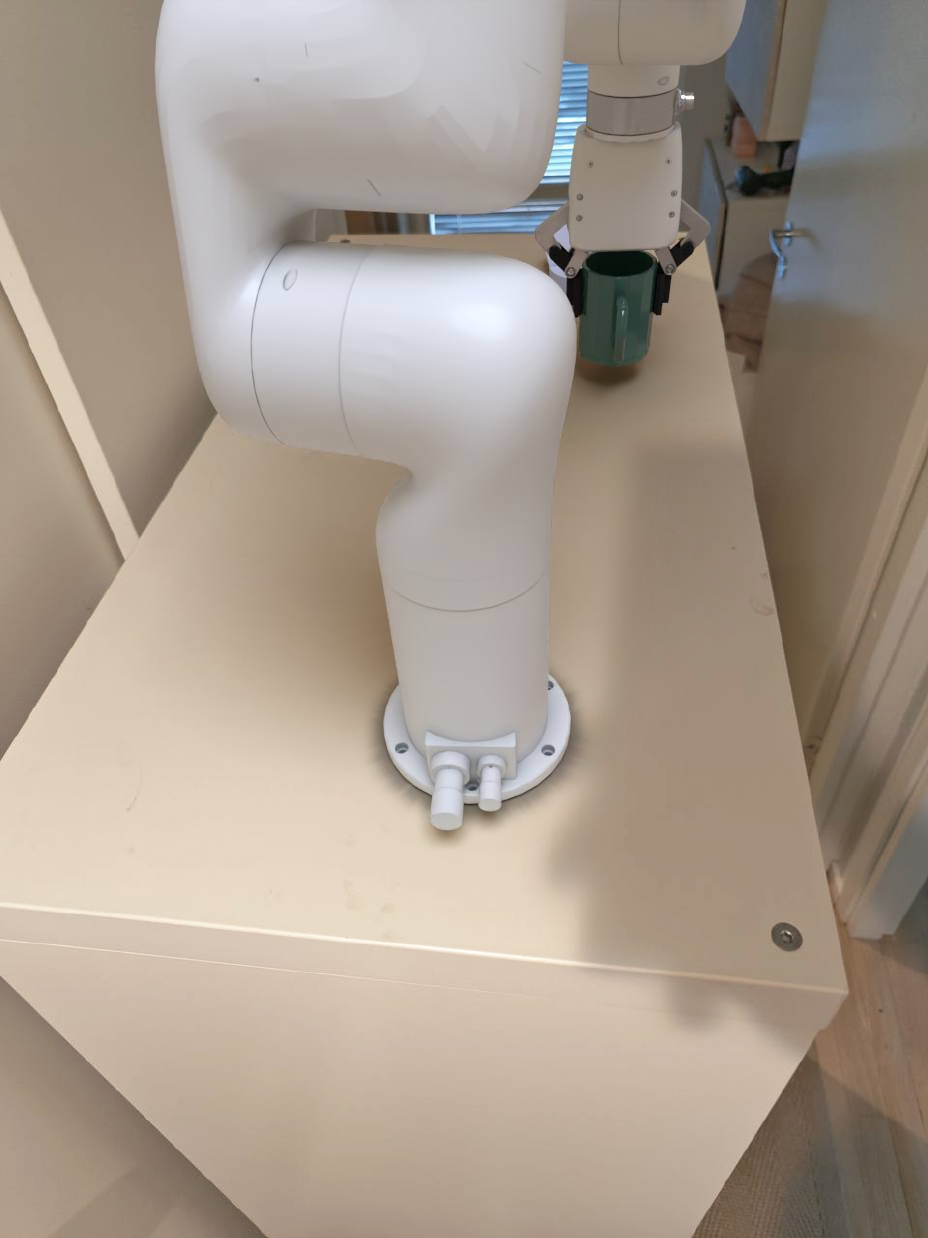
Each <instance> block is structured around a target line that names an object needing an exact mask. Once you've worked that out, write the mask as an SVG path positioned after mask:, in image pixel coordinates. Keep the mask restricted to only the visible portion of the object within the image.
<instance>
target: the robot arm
mask: <svg viewBox="0 0 928 1238" xmlns="http://www.w3.org/2000/svg"><path fill="white" fill-rule="evenodd" d="M746 4H747V0H163V2H162V5H161V8H160V13H159V20H158V27H157V32H156V38H155V50H154V51H155V52H154V53H155V54H154V84H155V100H156V107H157V117H158V125H159V132H160V133H159V134H160V140H161V147H162V153H163V160H164V166H165V174H166V180H167V185H168V193H169V199H170V205H171V211H172V219H173V225H174V229H175V237H176V243H177V248H178V249H177V250H178V256H179V262H180V263H179V264H180V269H181V275H182V282H183V288H184V296H185V301H186V308H187V313H188V314H187V315H188V319H189V320H188V321H189V326H190V332H191V337H192V342H193V343H192V344H193V348H194V349H193V350H194V353H195V359H196V363H197V367H198V370H199V371H198V372H199V375H200V378H201V382H202V384H203V388H204V389H205V392H206V394H207V397H208V399H209V401H210V403H211V404H212V406H213V408H214V410H215V411H216V413H217V414H218V415H219V417H220V418H221V419H222V420H223V421H224V422H225V423H226V424H227V425H228V426H229V427H230V428H231V429H233V430H235V431H236V432H238V433H239V434H241V435H243V436H245V437H247V438H249V439H253V440H256V441H258V442H262V443H268V444H272V445H276V446H283V447H290V448H295V449H301V450H302V449H303V450H310V451H315V452H325V453H330V454H331V453H332V454H338V455H345V456H351V457H352V456H353V457H358V458H366V459H367V460H370V461H371V460H372V461H379V462H385V463H390V464H394V465H397V466H400V467H403V468H405V469H406V470H405V471H404V473H403V474H401V476H400V477H399V479H398V480H397V481H396V482H395V484H394V485H393V486H392V487H391V489H390V491H389V492H388V494H387V496H386V497H385V499H384V500H383V503H382V505H381V508H380V509H379V512H378V517H377V520H376V525H375V547H376V554H377V555H376V556H377V560H378V566H379V570H380V577H381V583H382V589H383V594H384V601H385V606H386V607H385V608H386V613H387V619H388V625H389V630H390V637H391V642H392V648H393V655H394V661H395V667H396V672H397V678H398V684H397V686H396V687H395V688H394V690H393V692H392V693H391V694H390V697H389V699H388V701H387V703H386V706H385V710H384V716H383V721H382V722H383V723H382V725H383V726H382V727H383V737H384V741H385V745H386V750H387V753H388V756H389V757H390V760H391V761H392V763H393V765H394V766H395V768H396V769H397V770H398V771H399V773H400V774H401V775H402V777H404V778H405V779H406V780H407V781H408V782H409V783H411V784H412V785H413V786H414V787H416V788H417V789H419V790H421V791H422V792H425V793H426V794H429V795H430V796H431V803H430V813H429V823H430V825H431V826H432V827H433V828H435V829H438V830H441V831H453V830H458V829H460V828H461V827H462V825H463V821H464V820H463V818H464V805H465V804H467V805H469V804H471V805H472V804H473V805H474V804H477V805H478V807H479V809H480V810H482V811H484V812H497V811H498V810H500V809H501V807H502V801H506V800H509V799H512V798H513V797H517V796H519V795H522V794H524V793H526V792H528V791H529V790H531V789H533V788H535V787H536V786H538V785H539V784H541V783H542V782H543V781H544V780H546V778H547V777H548V776H550V775H551V774H552V773H553V772H554V770H555V769H556V767H557V766H558V765H559V764H560V762H561V761H562V759H563V757H564V755H565V753H566V750H567V748H568V745H569V740H570V736H571V721H572V716H571V711H570V704H569V702H568V699H567V696H566V694H565V692H564V690H563V688H562V687H561V685H560V684H559V682H558V681H557V680H556V678H554V676H553V675H551V674H550V672H549V670H550V667H549V666H550V665H549V664H550V627H551V626H550V622H551V621H550V620H551V584H552V583H551V581H552V580H551V579H552V578H551V576H552V536H553V535H552V531H553V528H552V527H553V509H554V508H553V506H554V493H555V492H554V491H555V481H556V472H557V465H558V459H559V451H560V445H561V441H562V434H563V430H564V425H565V421H566V415H567V411H568V405H569V401H570V396H571V391H572V386H573V381H574V377H575V376H574V375H575V368H576V360H577V348H578V347H577V345H578V337H577V336H578V330H577V323H576V322H577V321H576V318H578V319H579V316H581V294H582V275H581V266H582V264H583V263H584V261H585V259H586V258H587V256H588V254H589V253H590V252H607V251H638V250H644V251H654V254H655V257H656V258H657V262H658V270H657V279H656V289H655V298H654V308H653V315H655V316H662V312H663V304H668V303H669V301H670V294H671V285H672V278H673V277H672V276H673V275H674V274H676V272H677V268H679V267H680V266H681V265H683V263H684V262H686V260H687V259H688V258H690V257H691V256H692V255H693V253H694V252H695V250H696V249H697V247H699V246H700V245H701V243H703V241H705V239H706V238H707V237H708V236H709V235H710V233H711V232H712V227H711V224H710V222H709V221H708V220H707V219H706V218H705V217H704V216H703V215H702V214H701V213H699V212H698V211H697V210H696V209H695V208H693V207H692V206H691V205H690V204H689V203H688V202H686V201H685V200H684V198H682V191H683V190H682V187H683V137H682V126H681V123H680V122H679V121H677V117H680V114H683V113H684V112H690V111H691V112H692V111H693V110H694V105H695V92H694V91H690V92H686V91H685V90H682V89H681V87H679V81H680V71H681V66H702V65H703V66H704V65H706V64H710V63H712V62H714V61H717V60H718V59H720V58H721V57H722V56H723V55H725V53H727V51H728V50H729V49H730V48H731V47H732V45H733V43H734V41H735V39H736V37H737V35H738V34H739V30H740V27H741V25H742V22H743V17H744V14H745V9H746ZM564 62H567V63H570V64H574V65H582V66H583V65H584V66H587V82H586V83H587V84H586V85H587V86H586V87H587V88H586V110H585V123H582V124H580V125H578V126H577V128H576V131H575V137H574V141H573V147H572V153H571V160H570V169H569V180H568V192H567V201H566V202H564V203H563V204H562V205H561V206H560V207H559V208H557V209H556V210H555V211H554V212H553V213H551V215H549V216H548V217H547V218H546V219H545V220H543V221H542V222H541V223H540V224H539V225H537V226H536V227H535V229H534V239H535V240H536V242H537V243H538V244H539V245H540V246H541V248H542V249H543V250H544V252H545V253H546V252H547V254H548V255H549V257H550V259H551V260H552V261H553V262H554V263H555V264H556V265H557V266H558V267H559V268H560V269H561V270H562V271H563V272H564V273H565V276H566V277H567V281H566V295H565V293H564V292H563V290H562V289H561V288H560V286H559V285H558V284H557V283H556V282H555V281H554V280H553V279H551V278H550V277H549V274H547V273H545V272H544V271H542V270H540V269H539V268H537V267H535V266H533V265H531V264H529V263H527V262H524V261H522V260H520V259H519V260H518V259H515V258H512V257H508V256H504V255H501V254H500V255H499V254H497V253H490V252H485V251H477V250H471V249H454V248H444V247H443V248H442V247H430V246H429V247H428V246H417V245H403V244H402V245H401V244H389V243H384V244H380V245H378V244H365V243H352V242H351V243H350V242H337V241H335V242H334V241H323V240H322V241H321V240H316V227H317V226H316V224H317V223H316V222H317V220H316V219H317V212H318V211H317V209H318V210H319V209H320V210H321V209H323V210H335V211H353V212H355V211H357V212H372V213H373V212H376V213H393V214H395V213H396V214H414V215H416V214H417V215H464V216H465V215H469V216H470V215H485V214H493V213H497V212H501V211H506V210H509V209H512V208H513V207H515V206H517V205H519V204H521V203H522V202H523V203H524V201H526V200H527V199H528V198H529V197H530V196H531V195H532V194H533V193H534V192H535V191H536V190H537V189H538V187H539V185H540V183H541V182H542V180H543V178H544V176H545V174H546V171H547V169H548V167H549V164H550V160H551V157H552V154H553V149H554V144H555V139H556V132H557V126H558V120H559V112H560V102H561V92H562V83H563V71H564V69H563V68H564ZM680 221H681V222H682V223H683V224H685V225H686V226H687V227H688V228H689V230H688V232H687V233H686V235H685V236H684V237H682V238H681V239H680V240H679V241H678V242H677V243H676V240H677V238H678V235H679V229H680ZM566 224H567V229H568V233H569V242H570V245H571V248H570V249H569V251H567V250H566V249H565V248H564V247H563V246H562V245H561V244H560V243H559V242H557V240H556V239H555V237H554V236H553V235H554V234H555V233H556V232H557V231H558V230H560V229H561V228H562V227H563V226H564V225H566ZM672 245H674V246H672ZM670 246H672V247H670ZM571 306H573V307H571Z"/></svg>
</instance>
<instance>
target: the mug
mask: <svg viewBox="0 0 928 1238" xmlns="http://www.w3.org/2000/svg"><path fill="white" fill-rule="evenodd" d="M657 270H658V258H657V256H656V255H654V254H652V252H649V251H648V250H638V251H607V252H591V253H589V254H588V256H587V258H586V259H585V261H584V263H583V264H582V266H581V275H582V294H581V316H579V317H578V333H577V336H578V337H577V345H578V347H577V348H578V349H577V350H578V353H579V355H580V356H581V357H582V358H583V359H584V360H586V361H588V362H590V363H592V364H596V365H600V366H607V367H621V366H629V365H631V364H635V363H638V362H639V361H642V360H643V359H644V358H645V357H646V356H647V355H648V353H649V350H650V346H651V337H652V326H653V316H654V314H653V308H654V298H655V289H656V279H657Z"/></svg>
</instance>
